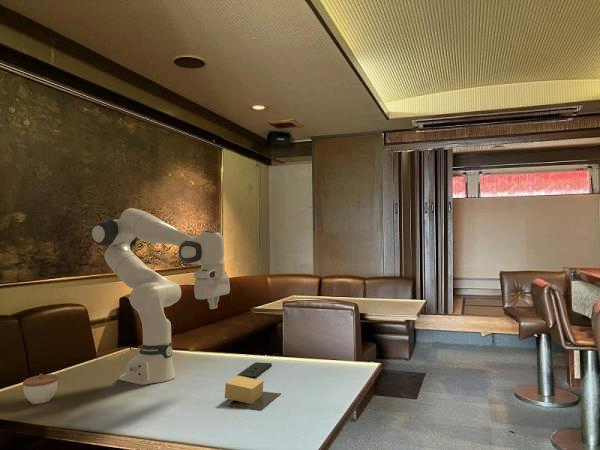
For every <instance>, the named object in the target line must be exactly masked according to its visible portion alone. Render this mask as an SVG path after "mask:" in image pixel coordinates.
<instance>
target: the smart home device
mask: <svg viewBox="0 0 600 450" xmlns="http://www.w3.org/2000/svg"><path fill="white" fill-rule="evenodd" d="M272 366H273V365H272V362H260V361H259V362H254V363H251V364H250V365H249V366H248V367H246V368H245V369H243V370H242V371H241V372H239V373H238V374H237V376H242V377H247V378H252V379H257V378H258V377H260V376H261V375H263V374H264V373H265V372H266V371H268V370H269V369H271V368H272ZM262 373H263V374H262ZM237 376H236V377H237Z"/></svg>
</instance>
